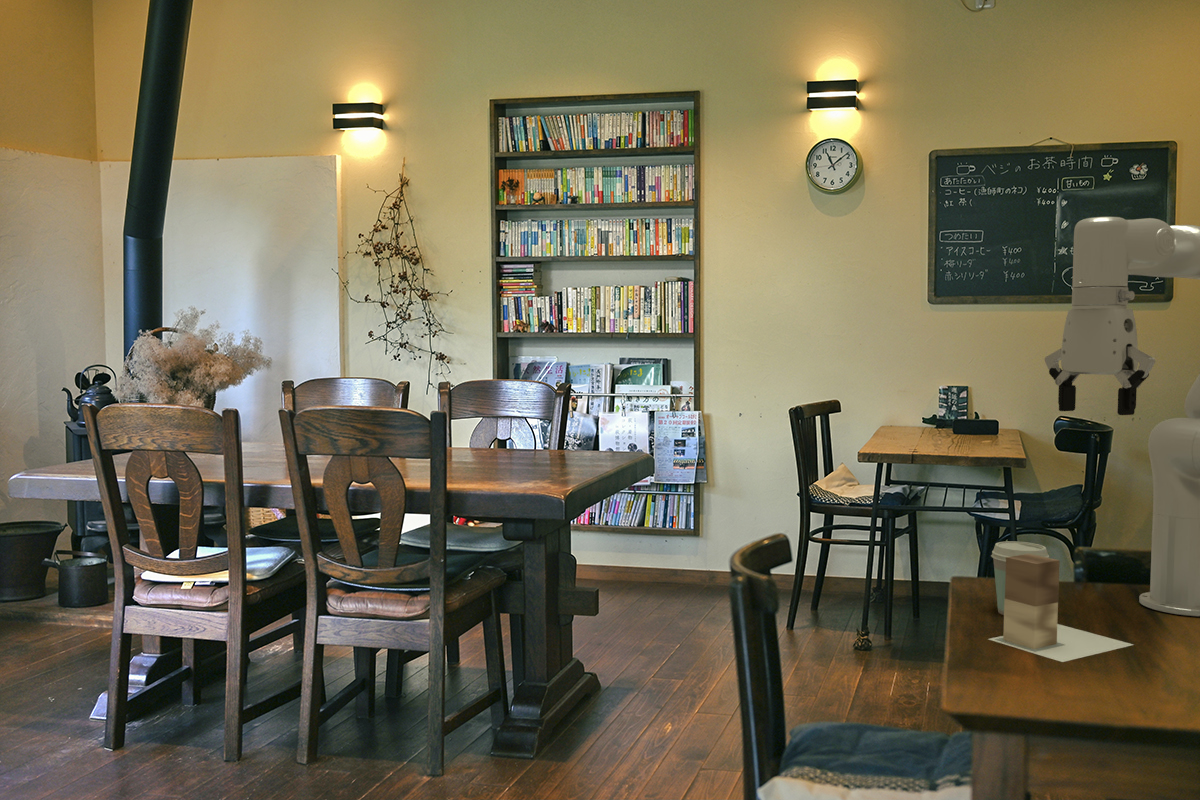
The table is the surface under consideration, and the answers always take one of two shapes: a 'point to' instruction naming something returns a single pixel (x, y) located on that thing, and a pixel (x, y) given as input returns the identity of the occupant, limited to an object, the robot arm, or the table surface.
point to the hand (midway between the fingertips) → (1095, 412)
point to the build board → (1071, 644)
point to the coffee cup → (999, 559)
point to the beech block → (1030, 624)
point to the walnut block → (1032, 579)
